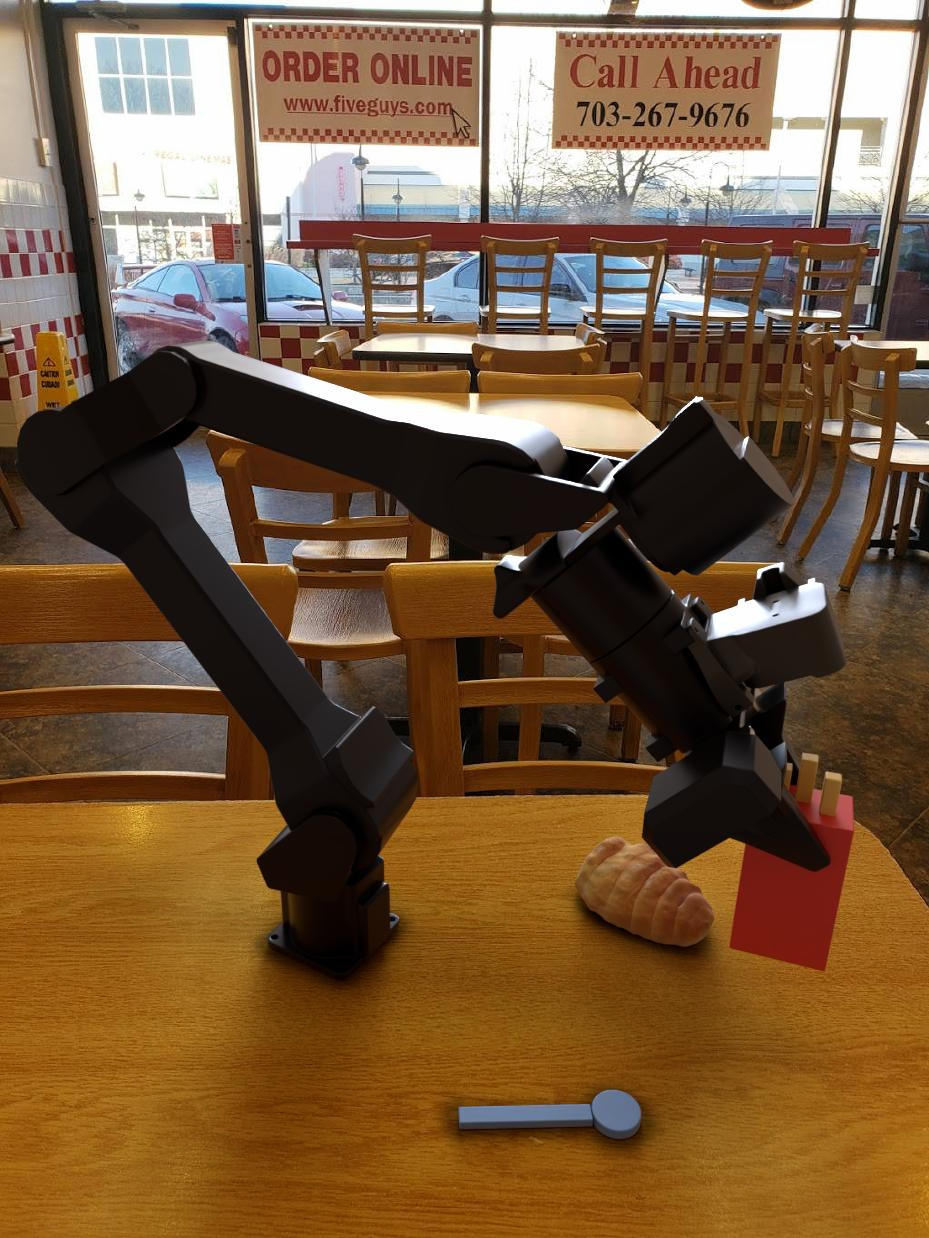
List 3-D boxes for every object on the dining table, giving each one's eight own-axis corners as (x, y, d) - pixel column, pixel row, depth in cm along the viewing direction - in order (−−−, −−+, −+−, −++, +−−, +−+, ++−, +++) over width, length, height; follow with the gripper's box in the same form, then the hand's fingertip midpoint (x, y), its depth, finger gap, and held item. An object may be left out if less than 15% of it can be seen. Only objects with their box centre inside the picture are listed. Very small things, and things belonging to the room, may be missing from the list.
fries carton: (729, 948, 52) (757, 768, 47) (734, 910, 55) (761, 737, 50) (824, 972, 50) (863, 788, 46) (825, 931, 53) (861, 755, 49)
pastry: (731, 921, 64) (738, 875, 63) (676, 971, 60) (681, 922, 59) (620, 861, 71) (624, 818, 69) (562, 902, 66) (565, 857, 65)
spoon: (459, 1143, 48) (459, 1134, 48) (457, 1100, 50) (457, 1092, 50) (645, 1139, 48) (646, 1130, 48) (634, 1096, 51) (635, 1088, 51)
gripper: (752, 592, 37) (1002, 883, 38) (762, 488, 53) (935, 692, 54) (545, 738, 42) (771, 992, 43) (613, 601, 58) (775, 786, 59)
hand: (821, 846), depth 50 cm, fingers closed on fries carton, 3 cm apart
